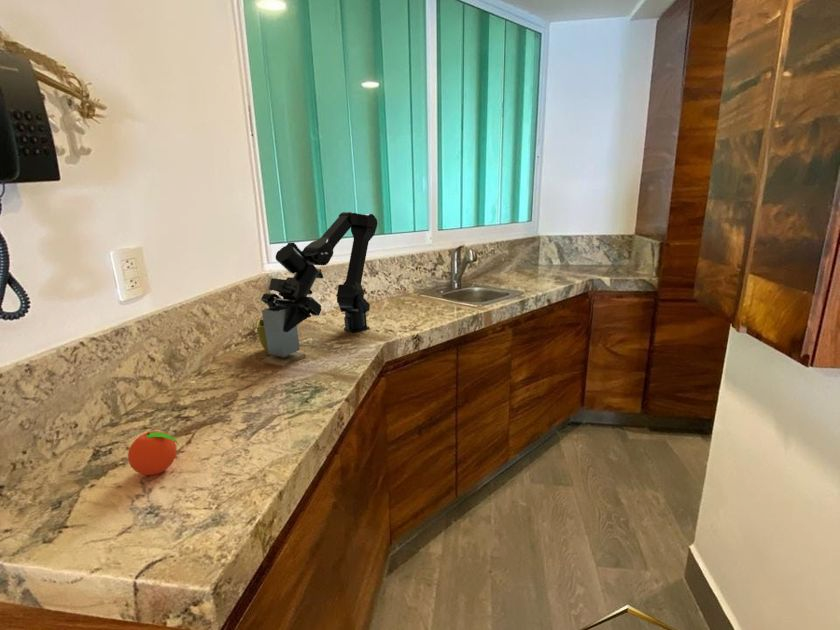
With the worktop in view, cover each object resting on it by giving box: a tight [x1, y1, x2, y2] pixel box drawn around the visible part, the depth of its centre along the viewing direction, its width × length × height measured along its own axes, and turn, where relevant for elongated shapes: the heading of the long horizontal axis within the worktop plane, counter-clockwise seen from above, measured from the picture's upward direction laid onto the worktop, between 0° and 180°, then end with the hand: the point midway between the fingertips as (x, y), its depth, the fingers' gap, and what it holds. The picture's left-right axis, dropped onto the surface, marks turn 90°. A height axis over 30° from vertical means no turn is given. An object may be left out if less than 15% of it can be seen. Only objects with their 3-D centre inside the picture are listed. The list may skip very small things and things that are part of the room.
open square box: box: [261, 305, 301, 357], centre depth 123 cm, size 6×6×12 cm
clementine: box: [127, 430, 179, 476], centre depth 74 cm, size 8×7×7 cm
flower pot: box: [255, 318, 268, 354], centre depth 132 cm, size 9×9×9 cm
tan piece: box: [263, 351, 307, 368], centre depth 124 cm, size 8×8×5 cm
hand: (277, 330), depth 121 cm, fingers closed on open square box, 6 cm apart
